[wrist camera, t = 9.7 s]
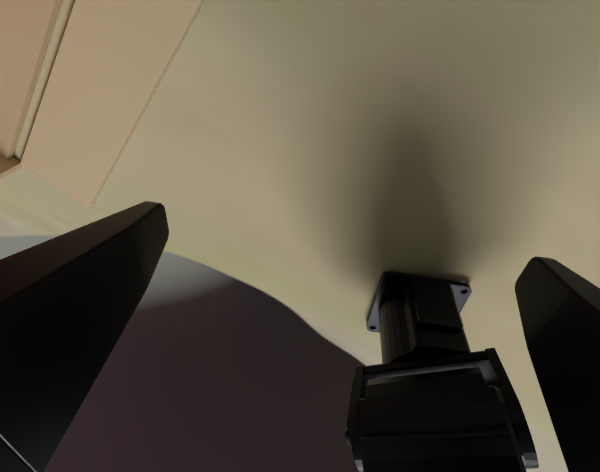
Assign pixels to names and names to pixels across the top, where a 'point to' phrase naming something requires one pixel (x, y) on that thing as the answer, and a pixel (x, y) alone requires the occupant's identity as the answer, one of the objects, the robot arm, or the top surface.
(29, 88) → the box
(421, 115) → the top surface
